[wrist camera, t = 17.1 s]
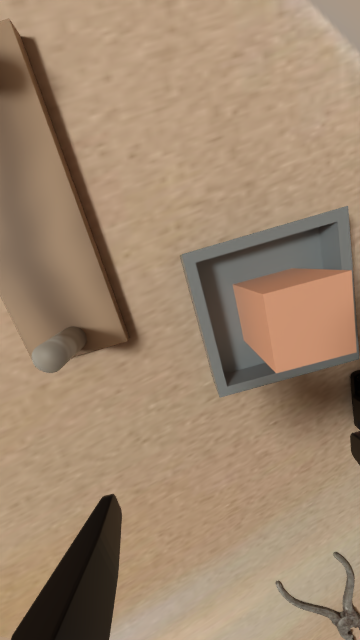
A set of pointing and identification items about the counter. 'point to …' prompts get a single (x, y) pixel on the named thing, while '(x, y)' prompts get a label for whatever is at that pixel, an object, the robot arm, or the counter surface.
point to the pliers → (341, 619)
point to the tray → (249, 263)
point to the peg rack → (45, 230)
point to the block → (298, 316)
